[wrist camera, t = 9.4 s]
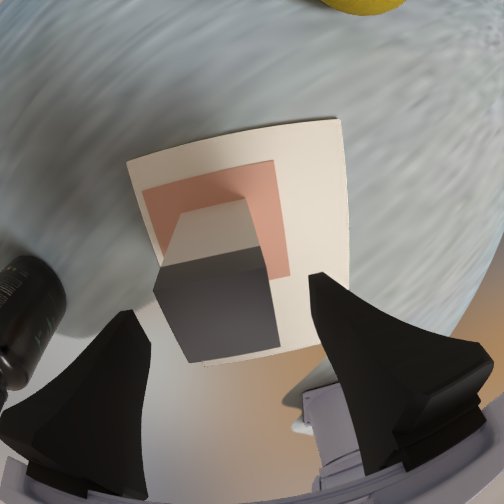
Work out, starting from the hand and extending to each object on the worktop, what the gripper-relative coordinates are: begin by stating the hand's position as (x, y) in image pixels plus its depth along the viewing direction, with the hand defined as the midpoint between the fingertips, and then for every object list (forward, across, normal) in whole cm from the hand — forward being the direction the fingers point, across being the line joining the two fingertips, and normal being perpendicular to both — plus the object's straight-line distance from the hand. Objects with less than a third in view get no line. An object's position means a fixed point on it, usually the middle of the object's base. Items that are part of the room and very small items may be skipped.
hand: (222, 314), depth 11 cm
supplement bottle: (+8, +17, +1) cm, 19 cm away
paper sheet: (+8, -2, +3) cm, 9 cm away
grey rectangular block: (+7, 0, 0) cm, 7 cm away
